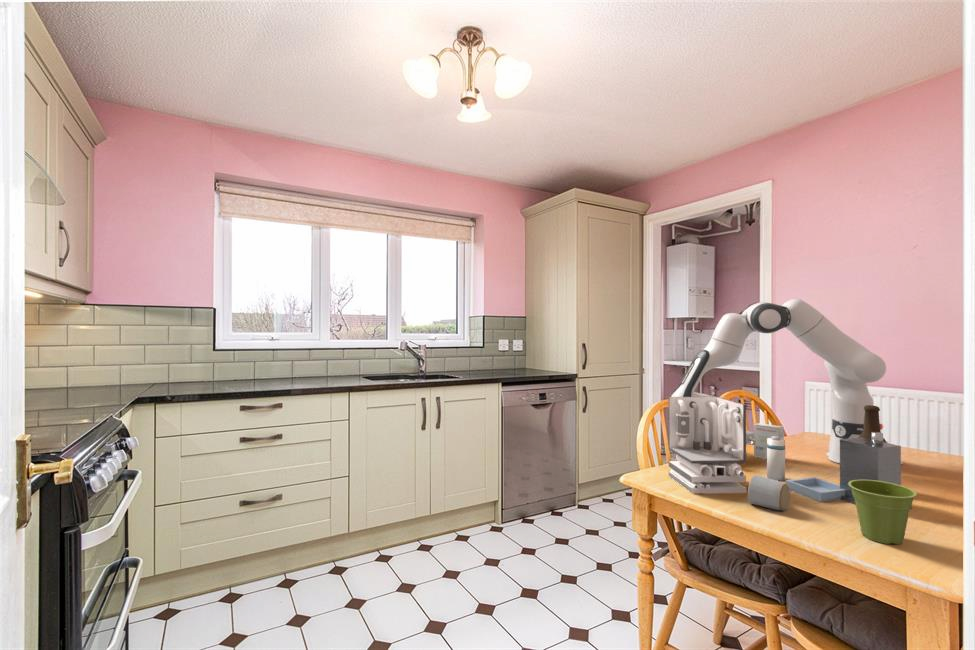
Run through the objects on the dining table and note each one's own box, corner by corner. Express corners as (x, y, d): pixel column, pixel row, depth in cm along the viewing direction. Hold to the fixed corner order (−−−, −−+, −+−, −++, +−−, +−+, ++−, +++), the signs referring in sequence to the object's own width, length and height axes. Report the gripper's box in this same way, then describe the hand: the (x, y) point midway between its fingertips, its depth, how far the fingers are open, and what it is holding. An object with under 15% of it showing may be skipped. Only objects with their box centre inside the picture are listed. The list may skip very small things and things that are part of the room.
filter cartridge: (775, 475, 152) (775, 434, 152) (789, 480, 148) (789, 438, 148) (762, 476, 151) (763, 435, 151) (776, 481, 146) (776, 439, 146)
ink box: (784, 459, 171) (784, 426, 171) (779, 462, 167) (779, 427, 167) (758, 454, 177) (758, 422, 177) (753, 457, 174) (753, 424, 174)
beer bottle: (857, 482, 146) (857, 402, 146) (890, 488, 140) (890, 406, 140) (852, 488, 140) (852, 405, 140) (887, 495, 135) (887, 409, 135)
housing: (860, 492, 137) (860, 425, 137) (911, 508, 124) (911, 435, 124) (830, 495, 134) (830, 427, 134) (879, 513, 121) (879, 438, 121)
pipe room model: (717, 475, 152) (717, 396, 152) (753, 497, 133) (753, 406, 133) (668, 476, 151) (668, 396, 152) (697, 498, 132) (697, 407, 132)
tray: (815, 485, 143) (815, 477, 143) (852, 498, 132) (852, 489, 132) (785, 488, 140) (785, 480, 140) (821, 502, 129) (821, 492, 129)
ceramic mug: (782, 515, 120) (782, 484, 120) (747, 506, 126) (747, 477, 126) (794, 505, 127) (794, 476, 128) (760, 497, 133) (760, 469, 133)
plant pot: (844, 523, 115) (844, 476, 115) (909, 534, 109) (909, 484, 109) (852, 542, 105) (852, 490, 105) (923, 555, 99) (923, 500, 99)
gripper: (689, 426, 172) (717, 435, 159) (736, 424, 178) (767, 432, 164) (688, 444, 172) (717, 454, 159) (735, 441, 178) (767, 450, 164)
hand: (743, 443), depth 162 cm, fingers open, 8 cm apart
